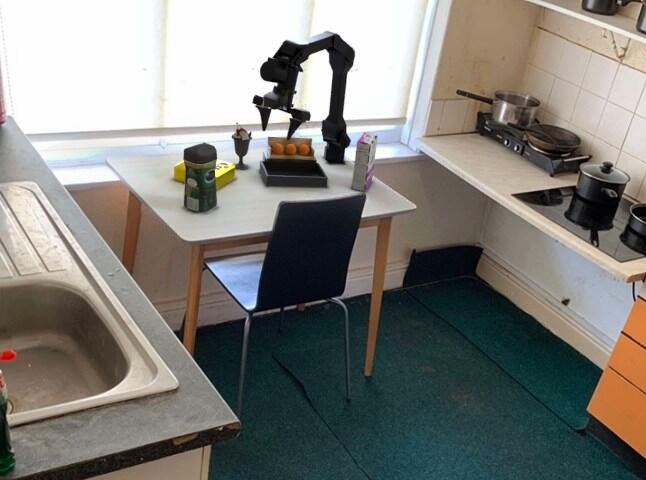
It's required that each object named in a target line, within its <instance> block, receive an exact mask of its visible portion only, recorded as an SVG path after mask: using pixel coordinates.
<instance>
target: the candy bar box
mask: <svg viewBox="0 0 646 480" xmlns="http://www.w3.org/2000/svg"><path fill="white" fill-rule="evenodd" d="M378 136H379V134H376V133H372V132H368V131H364V132H363V133H362V135H361V136H360V137H359V138H358V140H357V141H356V147H355V148H356V149H355V157H354V166H353V173H352V183H351V189H352V190H354V191H359V192H364V193H366V191H367V189H368V187H369V186H370V184H371V183H372V182H373V174H374V167H375V160H376V151H377V143H378Z"/></svg>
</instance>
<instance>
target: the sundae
mask: <svg viewBox="0 0 646 480" xmlns="http://www.w3.org/2000/svg"><path fill="white" fill-rule="evenodd" d="M235 124H236V125H237V126H238V127H237V128H235V132H234V133H233V134H232V135H231V139H232V140H233V143H234V146H233V147H234V152H235V155H237V156H238V163H235V164H234V163H233V164H234V165H235V170H241V171H242V170H243V171H244V170H247V169H248V168H249V165H247V164H245V163H244V157H246V156H247V154H248V152H249V147H250V143H251V141H252V140H253V137H252V131H251V130H250V131H249V132H248V130H247V129H245V128H244V127H242V126H241V125H240V124H239V122H235ZM239 127H240V128H239Z"/></svg>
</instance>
